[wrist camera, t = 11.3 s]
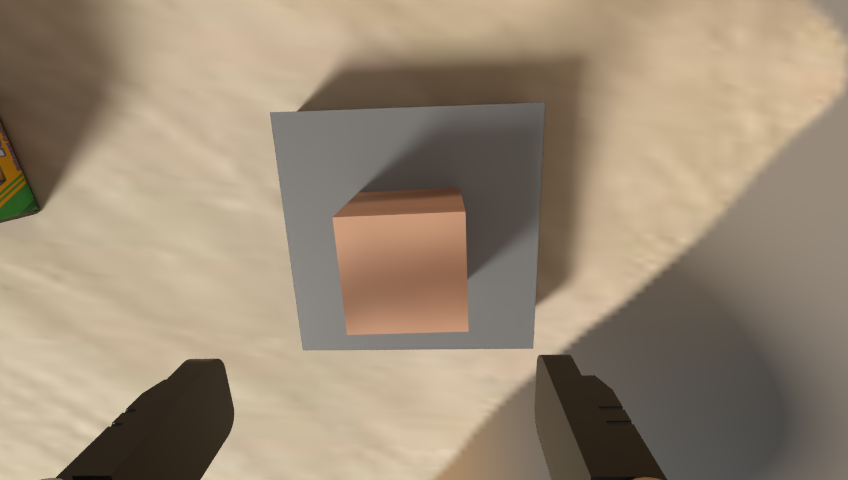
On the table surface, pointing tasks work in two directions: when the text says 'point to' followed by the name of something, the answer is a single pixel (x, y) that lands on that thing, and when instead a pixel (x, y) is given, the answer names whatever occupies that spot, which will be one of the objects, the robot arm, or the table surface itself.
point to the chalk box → (13, 185)
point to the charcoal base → (413, 170)
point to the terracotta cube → (403, 261)
